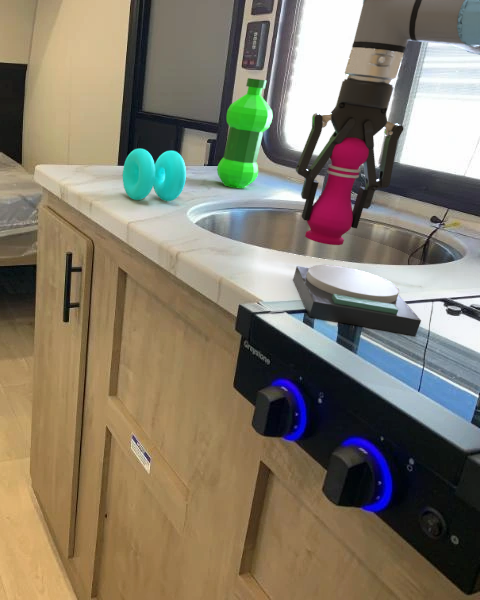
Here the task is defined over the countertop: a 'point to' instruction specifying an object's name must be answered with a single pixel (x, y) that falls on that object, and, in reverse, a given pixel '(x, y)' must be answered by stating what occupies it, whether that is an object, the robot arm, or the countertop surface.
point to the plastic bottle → (245, 136)
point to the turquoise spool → (154, 175)
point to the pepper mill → (337, 194)
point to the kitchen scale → (354, 298)
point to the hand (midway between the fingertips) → (328, 222)
